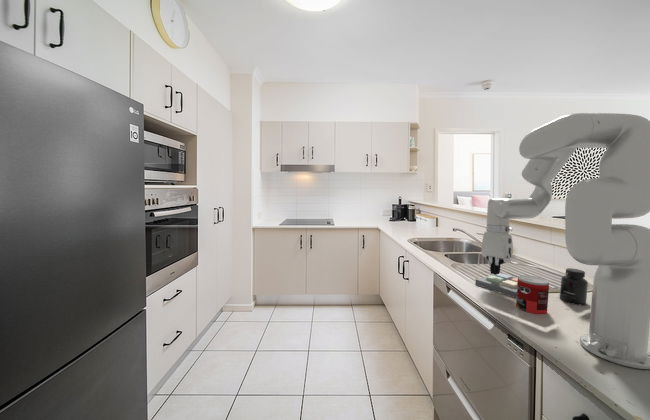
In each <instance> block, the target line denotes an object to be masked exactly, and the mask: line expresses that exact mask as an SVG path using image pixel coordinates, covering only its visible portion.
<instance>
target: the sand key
mask: <svg viewBox="0 0 650 420" xmlns="http://www.w3.org/2000/svg"><path fill="white" fill-rule="evenodd" d="M502 285H504V286H507V287H510V288H513V289H515V288H517V282H514V281H511V280H506V281H502Z"/></svg>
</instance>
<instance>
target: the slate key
mask: <svg viewBox="0 0 650 420" xmlns="http://www.w3.org/2000/svg"><path fill="white" fill-rule="evenodd" d="M500 273H501V272H500ZM500 273H499V274H497V275H496V276H497V277H500V278H504V281H506V280H511V279H513V277H514V276H513V275H508V274H507V273H506V274H504V273H501V274H500Z"/></svg>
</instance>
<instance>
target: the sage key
mask: <svg viewBox="0 0 650 420" xmlns="http://www.w3.org/2000/svg"><path fill="white" fill-rule="evenodd" d="M486 277H487V278H486V280H488V281H491V282H494V283H497V284H498V283H502V281H504V278H500V277H497V276H492V275H488V276H486Z"/></svg>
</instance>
